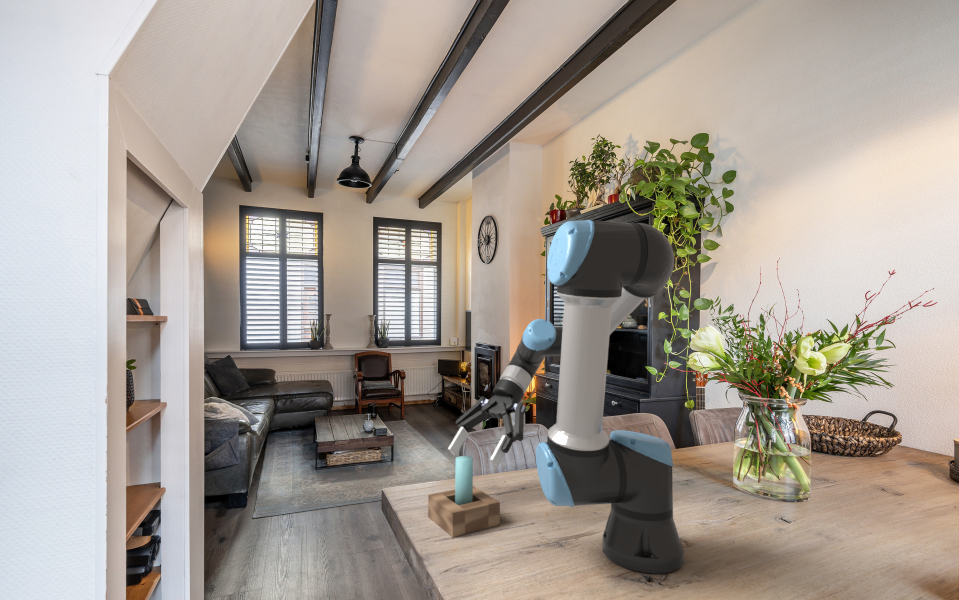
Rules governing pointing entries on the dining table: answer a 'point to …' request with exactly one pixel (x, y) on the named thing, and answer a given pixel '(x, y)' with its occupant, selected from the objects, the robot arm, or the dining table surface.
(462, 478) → the dowel
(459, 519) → the socket block
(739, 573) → the dining table surface
